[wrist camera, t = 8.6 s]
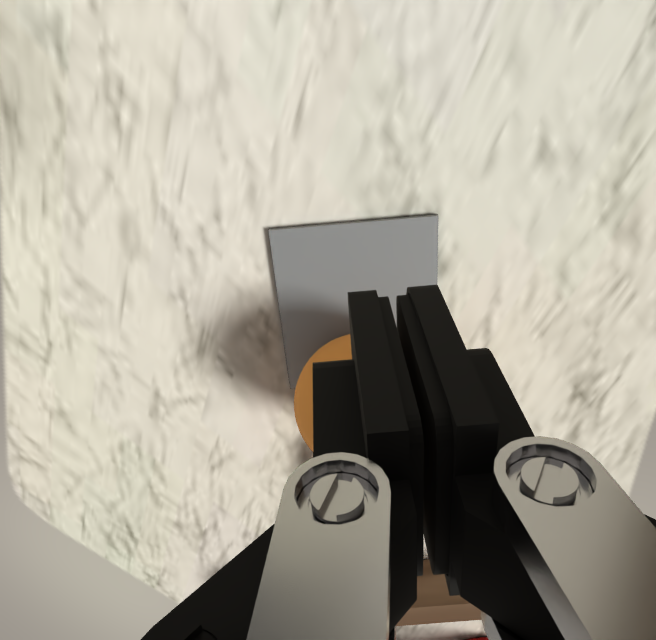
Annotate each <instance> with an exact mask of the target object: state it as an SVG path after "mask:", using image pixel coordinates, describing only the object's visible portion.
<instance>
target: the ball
mask: <svg viewBox="0 0 656 640" xmlns="http://www.w3.org/2000/svg"><path fill="white" fill-rule="evenodd" d="M349 359H352V352H351V337H350V334H348V335H345V336H341V337H339V338H336V339H334V340H332V341H330V342H328V343H327V344H325V345H324V346H322V347H321V348H320V349H319V350H317V351H316V352H315V353H314V354H313V356H312V357H311V358H310V359H309V360H308V362H307V363H306V365H305V366H304V368H303V370H302V372H301V374H300V376H299V378H298V381H297V385H296V389H295V396H294V411H295V418H296V422H297V425H298V428H299V431H300V433H301V435H302V437H303V439H304V441H305V442H306V444H307V445H308V447H309V448H310V449H311V450H312V452H313V373H312V367H313V362H325V361H337V360H349Z"/></svg>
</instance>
